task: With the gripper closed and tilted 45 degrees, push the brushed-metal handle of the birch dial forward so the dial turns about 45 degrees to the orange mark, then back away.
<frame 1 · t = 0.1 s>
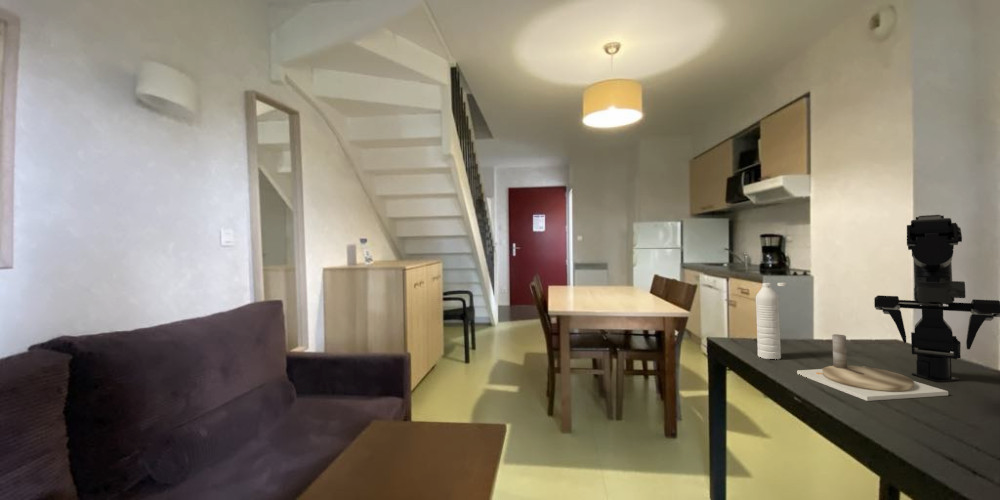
hand: (935, 346, 86), 15 cm above the table, tool pointing down, fingers open, 9 cm apart
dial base: (865, 383, 108), on the table
dial: (865, 360, 108), point 6 cm above the table, hinge at 0.0°
water bottle: (773, 358, 134), on the table
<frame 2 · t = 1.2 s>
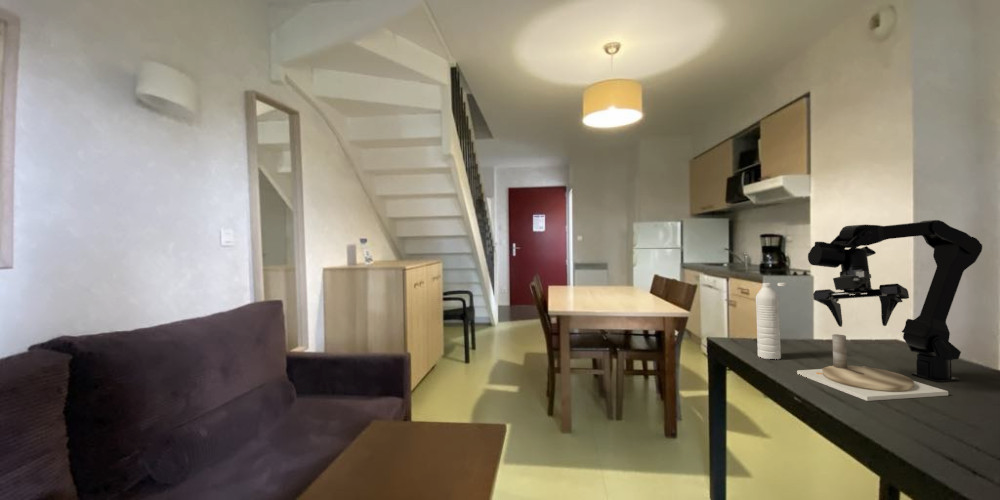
hand: (861, 326, 107), 16 cm above the table, tool tilted 20°, fingers open, 9 cm apart
nothing on the table moved.
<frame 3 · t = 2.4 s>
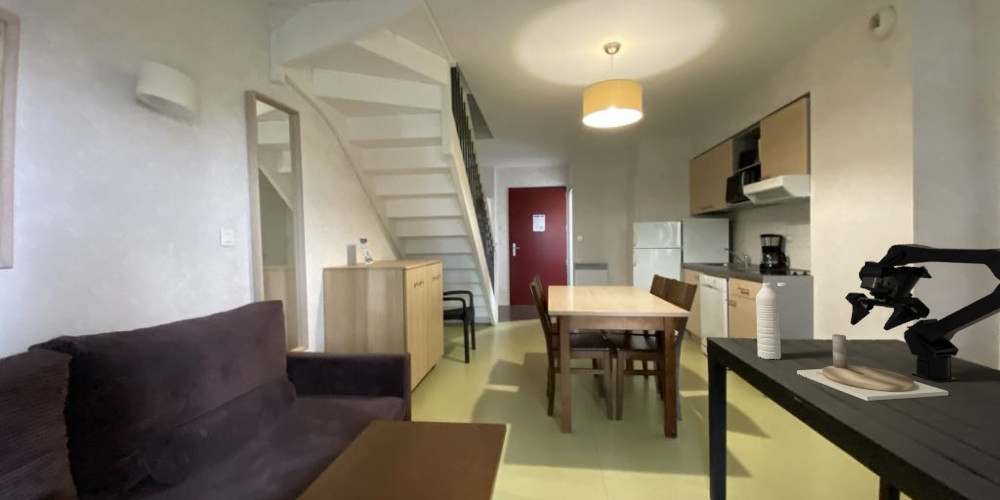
hand: (867, 326, 114), 14 cm above the table, tool tilted 45°, fingers open, 9 cm apart
nothing on the table moved.
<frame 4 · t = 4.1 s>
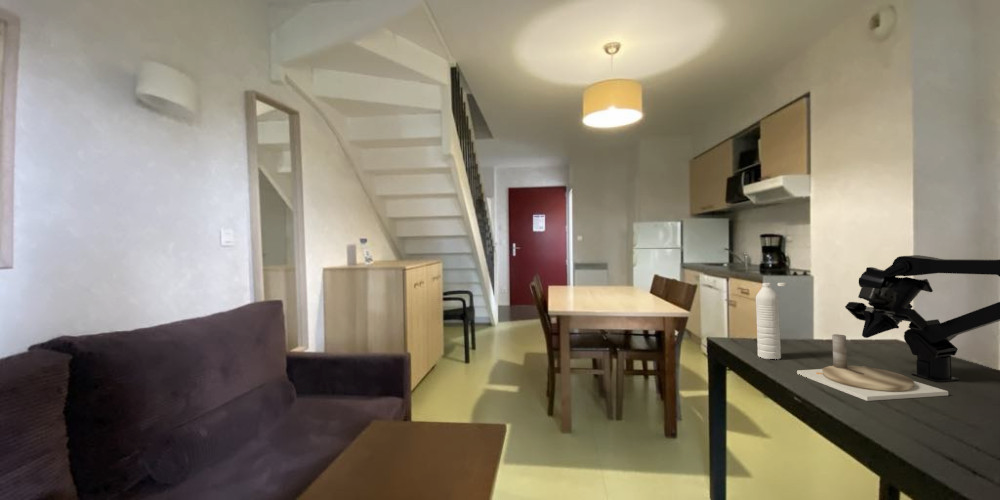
hand: (864, 336, 115), 11 cm above the table, tool tilted 45°, fingers closed
nothing on the table moved.
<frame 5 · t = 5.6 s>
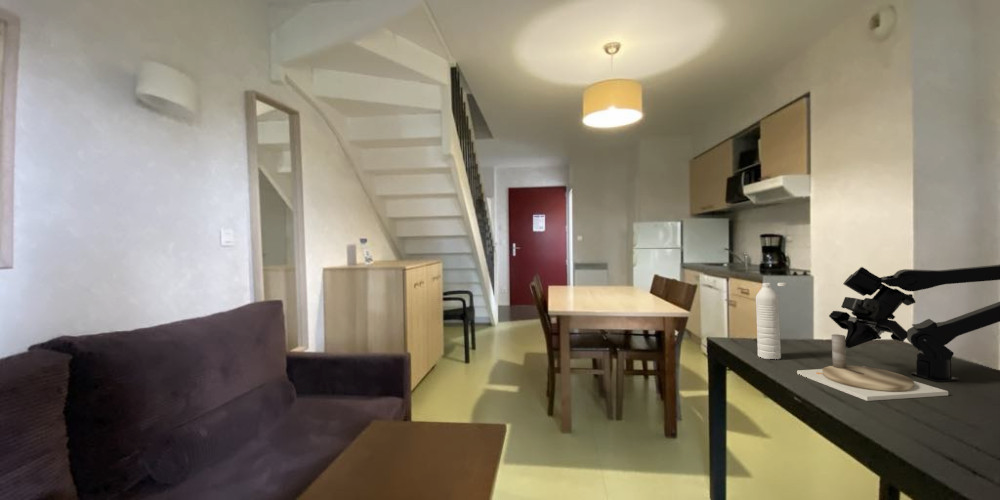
hand: (846, 346, 115), 8 cm above the table, tool tilted 45°, fingers closed
dial: (865, 360, 108), point 6 cm above the table, hinge at 1.6°, touching gripper
everything else where it was.
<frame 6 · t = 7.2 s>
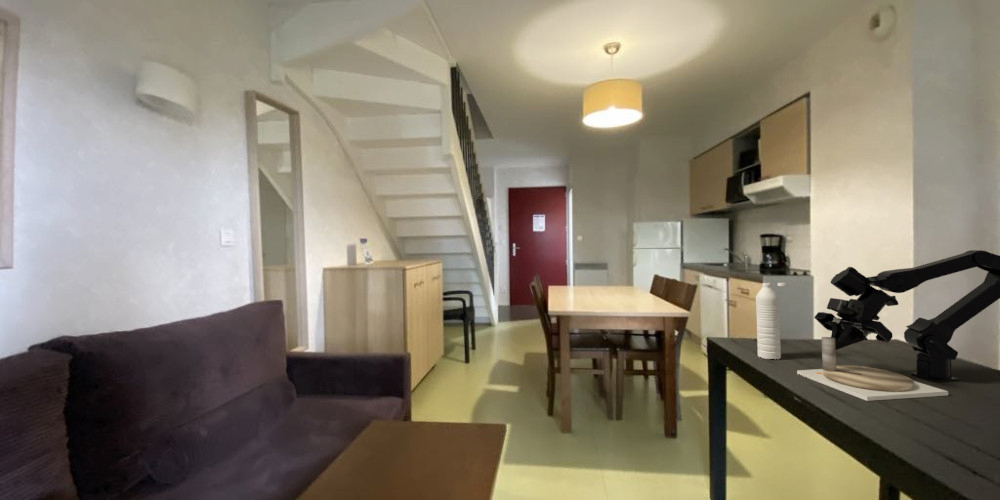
hand: (832, 348, 114), 8 cm above the table, tool tilted 45°, fingers closed
dial: (865, 360, 108), point 6 cm above the table, hinge at 43.0°, touching gripper
everything else where it was.
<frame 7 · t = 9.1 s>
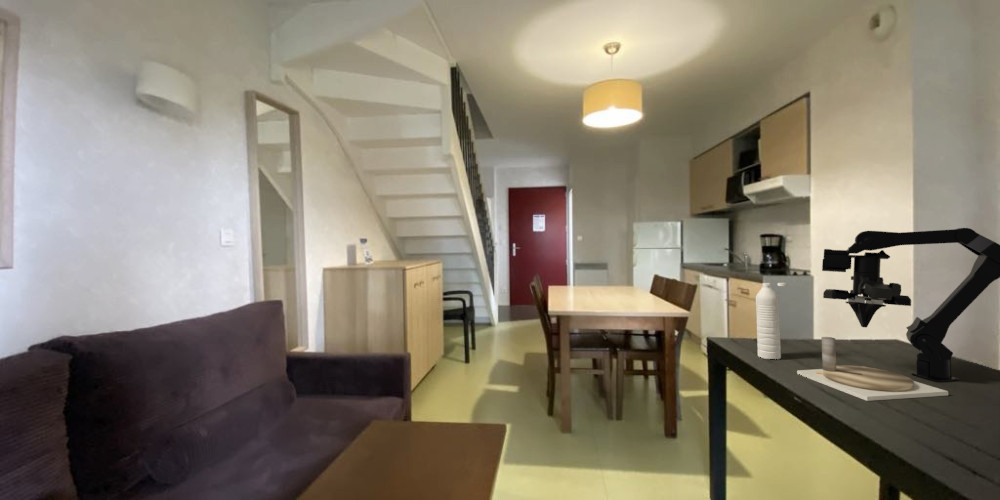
hand: (864, 327, 117), 13 cm above the table, tool pointing down, fingers closed
dial: (865, 360, 108), point 6 cm above the table, hinge at 43.0°
everything else where it was.
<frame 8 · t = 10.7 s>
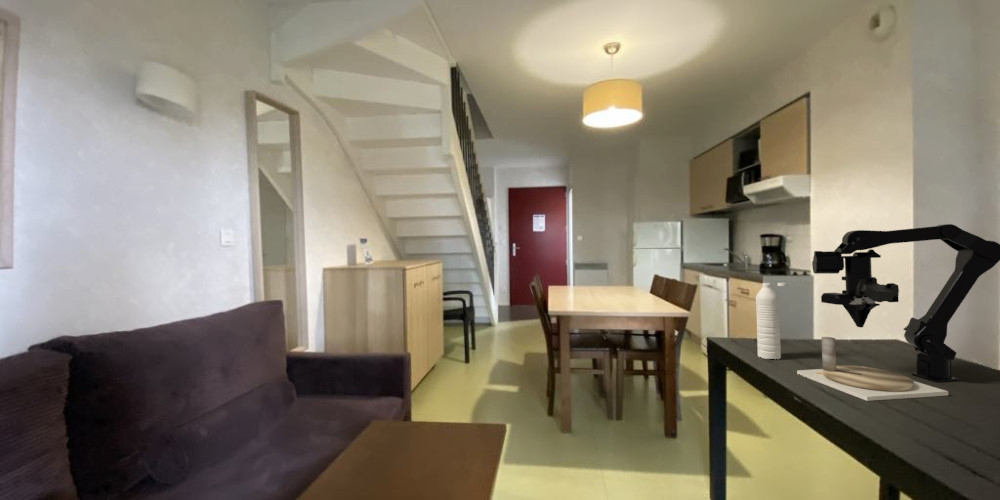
hand: (860, 327, 117), 13 cm above the table, tool pointing down, fingers closed
nothing on the table moved.
at the end: dial at +43° (first picture: +0°); water bottle moved 0.2 cm from its start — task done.
